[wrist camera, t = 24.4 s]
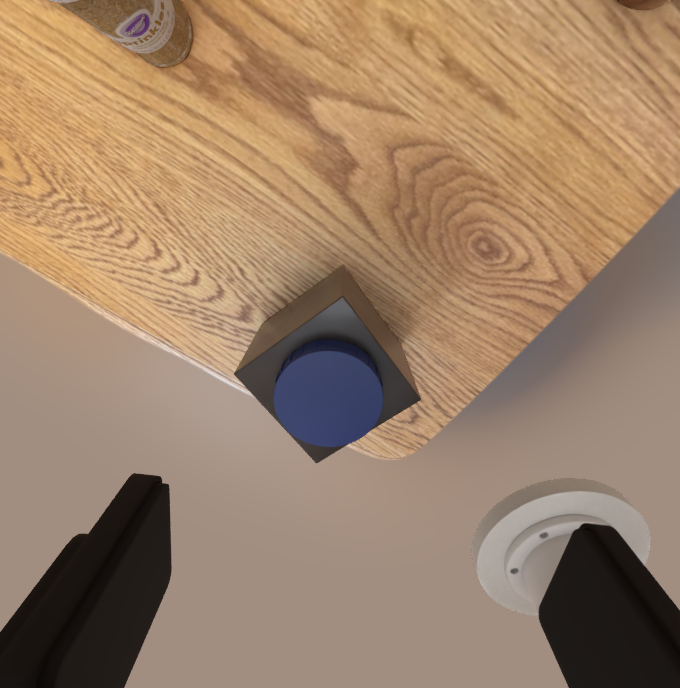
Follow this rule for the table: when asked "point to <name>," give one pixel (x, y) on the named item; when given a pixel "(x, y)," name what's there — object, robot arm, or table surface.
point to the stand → (324, 324)
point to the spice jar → (140, 26)
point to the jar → (643, 4)
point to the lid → (328, 393)
